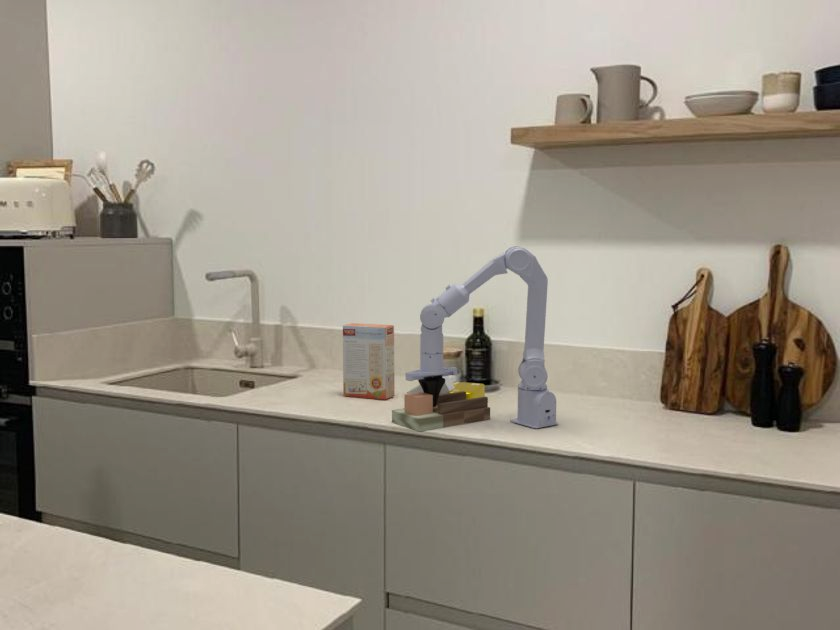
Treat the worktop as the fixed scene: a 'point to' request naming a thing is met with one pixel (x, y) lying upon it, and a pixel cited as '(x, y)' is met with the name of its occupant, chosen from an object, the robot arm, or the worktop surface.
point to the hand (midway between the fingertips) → (431, 406)
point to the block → (418, 403)
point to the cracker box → (368, 361)
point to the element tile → (470, 389)
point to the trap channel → (446, 412)
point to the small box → (445, 389)
